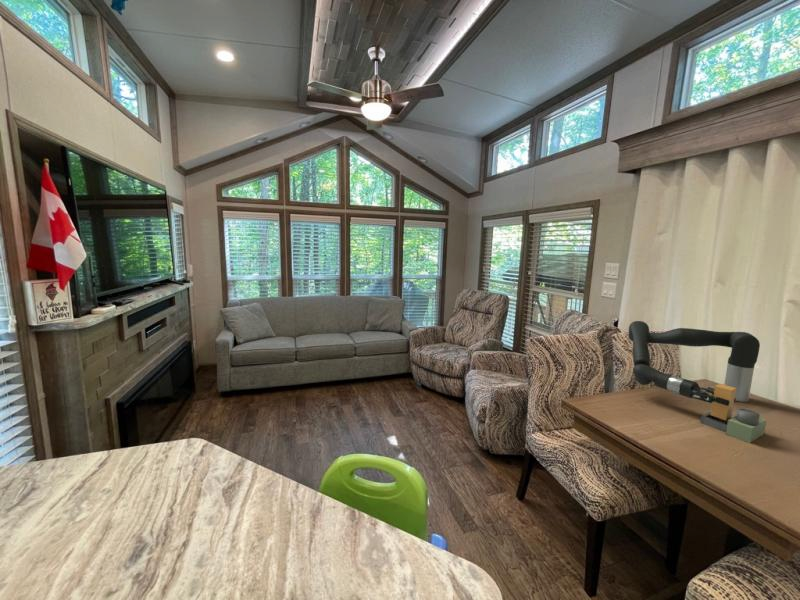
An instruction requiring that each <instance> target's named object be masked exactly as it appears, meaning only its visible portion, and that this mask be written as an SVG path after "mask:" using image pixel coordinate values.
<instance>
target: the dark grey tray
mask: <svg viewBox="0 0 800 600" xmlns="http://www.w3.org/2000/svg"><path fill="white" fill-rule="evenodd" d="M710 414H711V411H709V412H707V413H705V414H703V415H701V416H700V424H703V425H706V426H708V427H711V428H713V427H714V428H713V429H716V428H717V430H719V429H720V430H719V431H722V432H724V431H725V432H724V433H726V430H727V424H728V420H729V419H728V420H723V419H720V418H717V417H715V416H712V415H710ZM731 418H732V417H731ZM731 418H730V419H731ZM717 420H718V421H717ZM720 421H721V422H720Z"/></svg>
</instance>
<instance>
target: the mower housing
mask: <svg viewBox="0 0 800 600" xmlns="http://www.w3.org/2000/svg"><path fill="white" fill-rule="evenodd" d="M760 417H761V414H760V413H758V412H756V411H754V410H751V409H745V408H738V409H737V412H736V415H735V416H734V417H731V419H729V420H728V424H727V430H726V432H725V435H727V436H730V437H732V438H735V439H737V440H741V441H744V442H746V443H749V444H750V443H752V442H753V441H755V440H757V439H758V438H760V437H761V436H763V435H765V431H766V427H767V426H766V425H767V419H764V418H762V417H761V418H760Z"/></svg>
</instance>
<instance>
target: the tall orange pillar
mask: <svg viewBox="0 0 800 600" xmlns="http://www.w3.org/2000/svg"><path fill="white" fill-rule="evenodd" d="M714 389H715V391H714V396H716V397H719V398H722V399H726V400H729V401H730V404H729V405H728V406H726V405H723V404H720V403H717V402H716V403H714V402H712V403H711V408H710V412H711V414H710V415H712V416H715V417H717V418H720V419H723V420H728V419H730V418H732V415H733V410H734V404H735V403H734V399H735V394H736V388H734V387H730V386H727V385H724V384H722V383H719V384H715V386H714Z"/></svg>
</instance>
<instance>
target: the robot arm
mask: <svg viewBox="0 0 800 600" xmlns="http://www.w3.org/2000/svg"><path fill="white" fill-rule="evenodd" d="M628 339H629V340H630V342H633V344H632V362H633V368H632V373H633V375H634V378H635V380H636V382H637V383H639V384H640V385H642V386H647V385H650V384H651V383H653V384H654V385H655V386H656V387H657V388H660V389H664V390H667V391H670V392H671V393H675V394H677V395H679V396H683V397H686V398H689V399H695V400H698V401H703V402H706V403H709V404H712V402H714V403H716V402H717V403H720V404H723V405H726V406H728V405H729V404H730V401H729V400H726V399H722V398H719V397H716V396H714V391H715V388H713V387H710V386H708V387H700V386H699V383H698V382H696V381H693V380H690V379H686V378H683V377H679V376H675V375H671V374H667V373H664V372H662V371H660V370H658V369H656V368H655V367H652V366H651V359H650V352H649V345H648V344H662V345H663V344H664V345H673V346H674V345H675V346H685V347H693V348H694V347H696V348H697V347H701V348H702V347H710V346H711V347H712V346H713V347H715V346H716V347H717V346H718V347H725V348H731V350H730V356H729V357H728V359H727V365H726V371H725V372H726V373H725V377H724V382H723V383H724V384H723V385H727V386H730V387H734V388H736V394H735V399H734V404H735V403H736V402H742V403H746V402H747V403H748V402H749V399H750V394H751V389H752V388H751V387H752V382H753V376H754V370H755V367H756V366H755V365H756V363H757V362H758V357H759V353H760V346H761V343H760V341H759V339H758V338H757V337H756V336H754V335H753V334H752V333H749V332H746V331H713V330H706V329H699V328H698V329H697V328H686V327H678V328H673V329H670V330H667V331H663V332H650V327H649V325H648V324H647V322H645V321H642V320H635V321H632V322H631V323H630V324H629V327H628Z"/></svg>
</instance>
